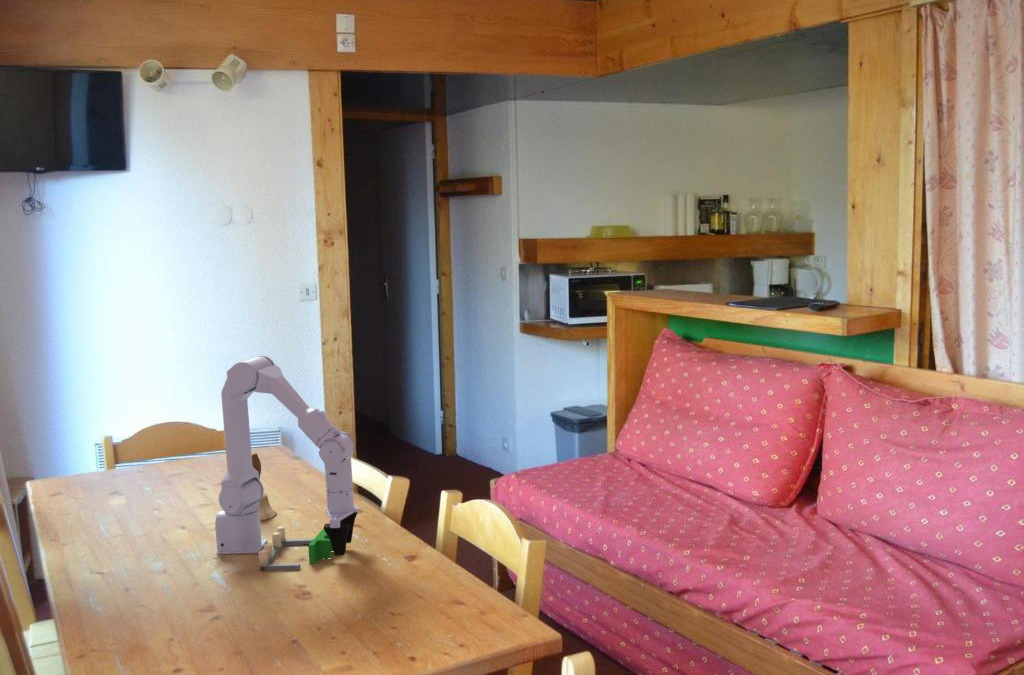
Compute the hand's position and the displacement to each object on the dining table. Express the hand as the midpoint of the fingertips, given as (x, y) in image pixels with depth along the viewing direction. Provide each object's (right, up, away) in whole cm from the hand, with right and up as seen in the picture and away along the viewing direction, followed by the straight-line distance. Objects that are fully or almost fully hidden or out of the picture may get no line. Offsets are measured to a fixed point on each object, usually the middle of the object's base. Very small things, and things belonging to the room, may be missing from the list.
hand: (343, 548), depth 213 cm
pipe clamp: (-4, -2, 0) cm, 4 cm away
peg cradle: (-11, -2, 0) cm, 12 cm away
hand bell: (-26, +2, +29) cm, 39 cm away
